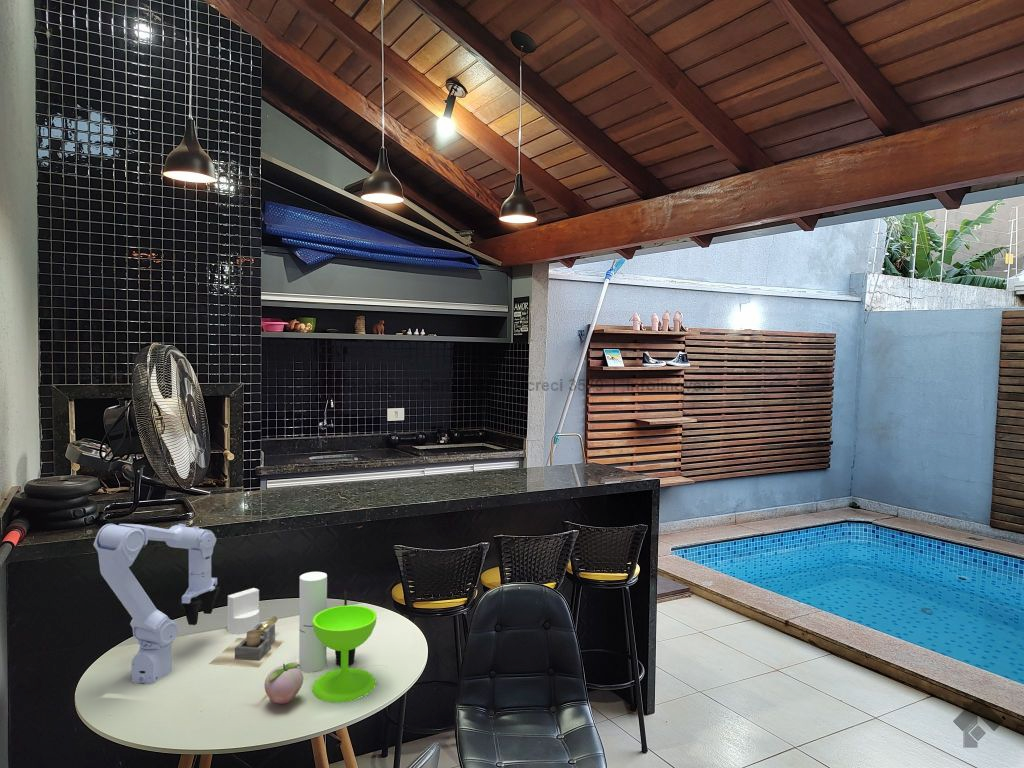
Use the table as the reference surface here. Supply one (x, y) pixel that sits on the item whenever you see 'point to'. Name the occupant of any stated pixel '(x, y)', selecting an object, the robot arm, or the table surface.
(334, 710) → the table surface
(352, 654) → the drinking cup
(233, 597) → the base with upright slab
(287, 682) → the decorative fruit
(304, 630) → the cylindrical container
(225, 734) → the table surface
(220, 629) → the table surface
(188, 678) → the table surface
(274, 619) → the pin
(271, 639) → the dock
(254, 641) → the peg
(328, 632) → the wineglass
